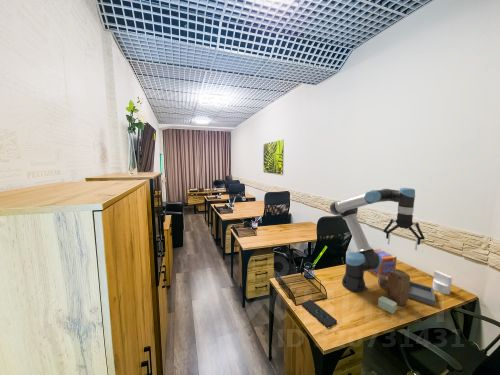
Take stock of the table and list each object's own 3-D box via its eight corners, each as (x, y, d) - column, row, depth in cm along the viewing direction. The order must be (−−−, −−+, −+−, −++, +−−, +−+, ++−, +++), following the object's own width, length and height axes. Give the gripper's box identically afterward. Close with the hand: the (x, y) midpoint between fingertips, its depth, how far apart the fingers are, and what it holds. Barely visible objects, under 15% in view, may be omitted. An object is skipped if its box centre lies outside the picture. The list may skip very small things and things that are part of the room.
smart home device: (327, 326, 106) (301, 303, 124) (327, 329, 107) (301, 305, 124) (337, 320, 110) (310, 299, 128) (337, 323, 111) (310, 301, 128)
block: (409, 305, 124) (412, 275, 122) (400, 307, 122) (403, 277, 120) (392, 294, 135) (395, 266, 132) (383, 296, 132) (386, 268, 130)
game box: (379, 278, 152) (381, 259, 151) (363, 268, 167) (364, 250, 166) (395, 275, 157) (397, 257, 155) (377, 266, 171) (379, 248, 170)
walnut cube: (379, 286, 143) (380, 279, 142) (377, 282, 148) (378, 274, 147) (389, 288, 140) (390, 281, 140) (387, 284, 146) (388, 276, 145)
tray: (406, 296, 132) (406, 291, 131) (406, 284, 145) (406, 280, 145) (434, 306, 123) (435, 301, 123) (432, 292, 136) (432, 287, 136)
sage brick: (377, 306, 123) (378, 298, 123) (381, 303, 126) (382, 295, 126) (392, 314, 117) (393, 306, 116) (396, 310, 120) (397, 303, 119)
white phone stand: (453, 292, 136) (455, 276, 135) (444, 295, 133) (446, 278, 132) (437, 285, 145) (439, 269, 143) (429, 287, 142) (431, 271, 140)
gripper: (380, 211, 126) (377, 243, 129) (433, 218, 111) (428, 254, 113) (381, 209, 132) (378, 239, 134) (432, 215, 116) (427, 249, 119)
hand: (401, 246), depth 124 cm, fingers open, 13 cm apart
